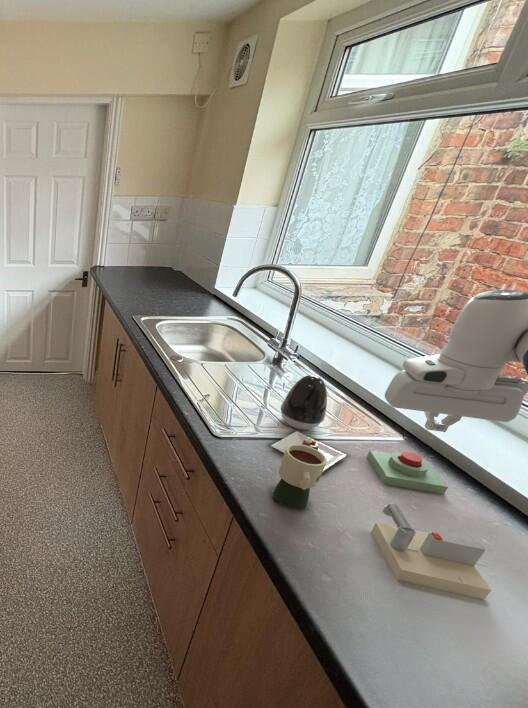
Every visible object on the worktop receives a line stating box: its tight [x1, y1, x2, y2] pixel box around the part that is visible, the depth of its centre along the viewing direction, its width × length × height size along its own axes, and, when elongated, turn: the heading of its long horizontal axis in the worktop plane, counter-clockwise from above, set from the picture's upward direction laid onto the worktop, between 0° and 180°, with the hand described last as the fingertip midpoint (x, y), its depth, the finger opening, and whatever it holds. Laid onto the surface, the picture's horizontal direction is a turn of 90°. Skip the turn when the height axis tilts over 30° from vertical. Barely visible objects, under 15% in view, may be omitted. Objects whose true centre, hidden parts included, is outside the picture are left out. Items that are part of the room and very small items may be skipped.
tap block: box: [371, 522, 492, 600], centre depth 74 cm, size 14×11×4 cm
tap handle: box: [420, 531, 486, 567], centre depth 72 cm, size 7×2×4 cm, turn 71°
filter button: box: [399, 451, 423, 467], centre depth 95 cm, size 4×4×2 cm
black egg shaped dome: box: [280, 374, 328, 431], centre depth 112 cm, size 10×10×15 cm
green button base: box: [366, 449, 449, 495], centre depth 96 cm, size 11×10×4 cm
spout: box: [382, 503, 417, 551], centre depth 77 cm, size 2×8×5 cm, turn 161°
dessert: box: [270, 430, 347, 471], centre depth 103 cm, size 12×12×5 cm
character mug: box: [272, 444, 327, 510], centre depth 87 cm, size 11×7×13 cm, turn 157°
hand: (434, 429), depth 88 cm, fingers closed
